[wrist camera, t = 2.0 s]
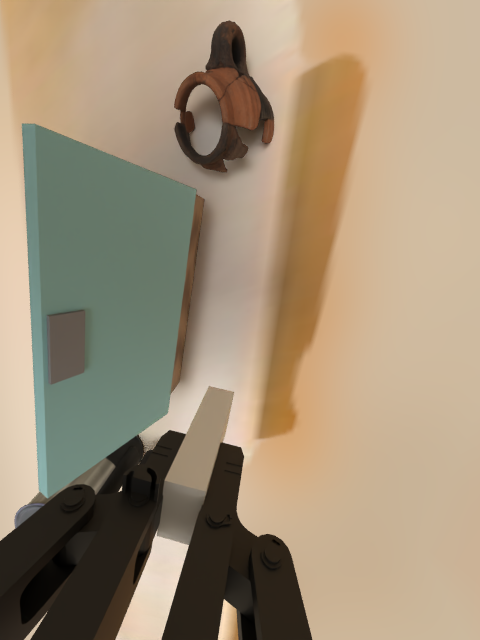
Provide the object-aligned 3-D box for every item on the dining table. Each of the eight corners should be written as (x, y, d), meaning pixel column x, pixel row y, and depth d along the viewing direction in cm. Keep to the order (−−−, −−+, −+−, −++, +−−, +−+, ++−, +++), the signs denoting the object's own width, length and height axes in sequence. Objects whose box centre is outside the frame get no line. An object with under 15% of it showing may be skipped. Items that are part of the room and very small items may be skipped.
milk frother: (111, 472, 48) (42, 569, 34) (61, 400, 45) (-38, 473, 31) (177, 450, 45) (132, 547, 30) (128, 370, 42) (53, 437, 27)
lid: (21, 123, 14) (38, 124, 14) (186, 188, 26) (199, 189, 26) (38, 490, 22) (49, 500, 21) (160, 409, 34) (169, 414, 34)
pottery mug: (277, 171, 32) (237, 174, 26) (215, 169, 36) (170, 172, 31) (287, 28, 26) (237, -11, 20) (211, 47, 30) (152, 21, 24)
